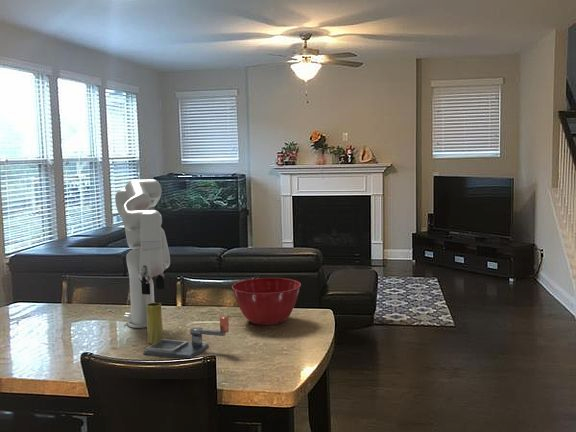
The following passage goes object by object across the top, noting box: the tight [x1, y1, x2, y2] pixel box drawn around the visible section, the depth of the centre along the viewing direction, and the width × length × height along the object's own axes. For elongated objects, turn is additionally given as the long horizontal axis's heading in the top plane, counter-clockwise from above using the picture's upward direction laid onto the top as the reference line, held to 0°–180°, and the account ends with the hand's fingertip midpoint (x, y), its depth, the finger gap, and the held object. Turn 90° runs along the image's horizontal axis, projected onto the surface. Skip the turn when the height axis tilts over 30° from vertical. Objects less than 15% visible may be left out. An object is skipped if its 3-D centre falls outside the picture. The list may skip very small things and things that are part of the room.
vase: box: [146, 302, 164, 345], centre depth 224 cm, size 6×6×14 cm
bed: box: [143, 334, 210, 359], centre depth 213 cm, size 18×14×5 cm
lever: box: [189, 316, 230, 337], centre depth 213 cm, size 15×4×6 cm, turn 71°
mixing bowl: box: [231, 277, 302, 326], centre depth 250 cm, size 28×28×16 cm
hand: (153, 291), depth 222 cm, fingers open, 9 cm apart
